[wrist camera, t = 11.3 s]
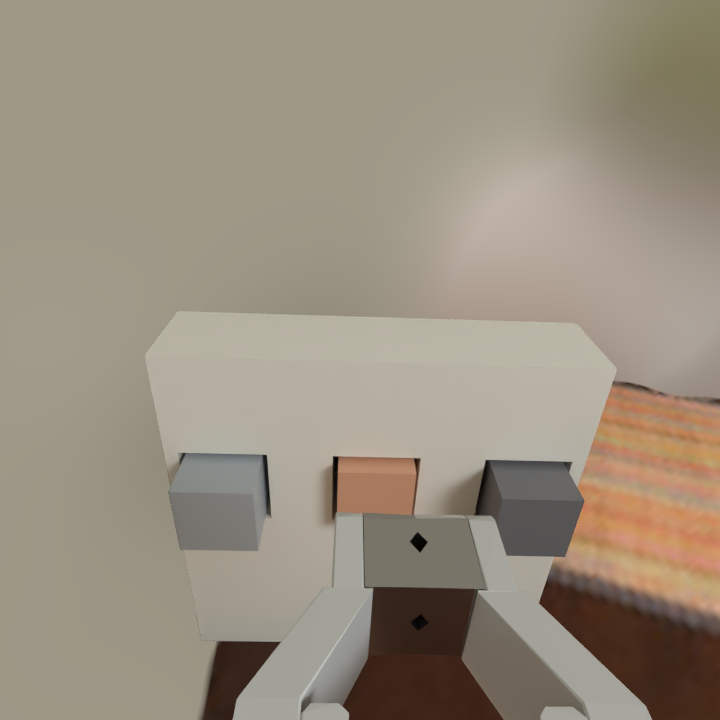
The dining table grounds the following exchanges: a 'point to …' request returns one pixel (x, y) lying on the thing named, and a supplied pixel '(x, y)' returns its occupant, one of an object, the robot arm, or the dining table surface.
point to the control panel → (360, 430)
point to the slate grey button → (220, 501)
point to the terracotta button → (376, 485)
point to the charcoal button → (530, 505)
